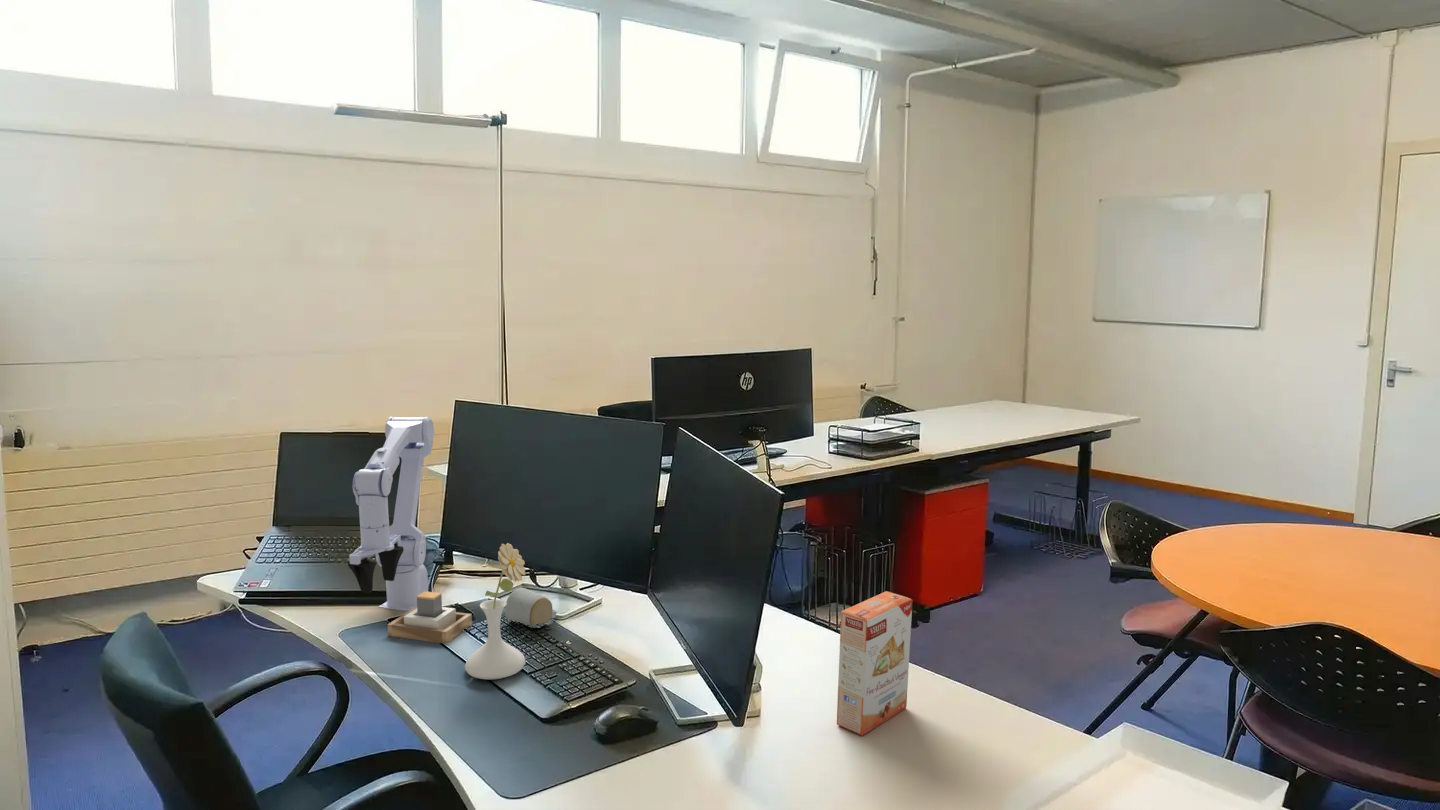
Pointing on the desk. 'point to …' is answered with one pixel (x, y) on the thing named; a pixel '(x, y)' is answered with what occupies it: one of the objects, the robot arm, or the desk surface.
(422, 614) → the block
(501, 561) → the flower in vase
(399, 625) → the walled box
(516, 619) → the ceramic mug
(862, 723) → the cracker box
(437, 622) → the socket block
